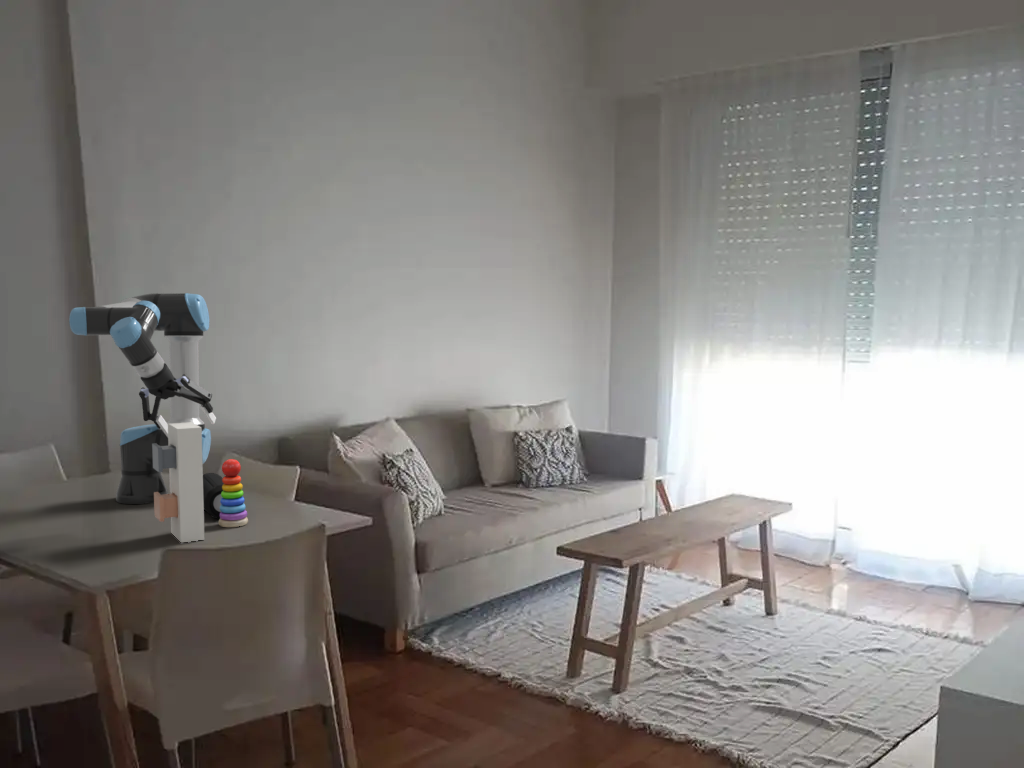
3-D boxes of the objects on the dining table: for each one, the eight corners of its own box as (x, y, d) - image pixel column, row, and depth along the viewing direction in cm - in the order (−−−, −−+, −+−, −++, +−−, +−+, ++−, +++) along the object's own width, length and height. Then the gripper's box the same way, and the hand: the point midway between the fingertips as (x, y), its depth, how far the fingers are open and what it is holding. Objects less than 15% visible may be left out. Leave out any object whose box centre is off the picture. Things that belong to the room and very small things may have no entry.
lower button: (154, 515, 245) (153, 492, 245) (181, 512, 249) (181, 489, 249) (160, 521, 239) (159, 497, 238) (188, 518, 243) (187, 494, 242)
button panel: (171, 533, 250) (167, 423, 247) (193, 530, 253) (190, 421, 251) (180, 543, 240) (177, 429, 237) (204, 540, 243) (201, 427, 240)
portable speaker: (242, 519, 267) (241, 485, 266) (206, 522, 263) (205, 488, 262) (225, 501, 290) (224, 470, 289) (192, 504, 285) (191, 472, 284)
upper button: (152, 467, 244) (152, 443, 244) (180, 465, 248) (179, 441, 247) (158, 472, 238) (157, 447, 237) (186, 469, 241) (186, 445, 241)
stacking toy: (217, 522, 262) (216, 457, 260) (246, 520, 265) (245, 455, 263) (219, 529, 255) (217, 462, 253) (249, 526, 258) (247, 460, 256)
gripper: (106, 391, 246) (148, 448, 259) (191, 364, 243) (230, 423, 255) (114, 375, 252) (155, 431, 265) (197, 348, 249) (234, 407, 262)
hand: (192, 428), depth 260 cm, fingers open, 13 cm apart
